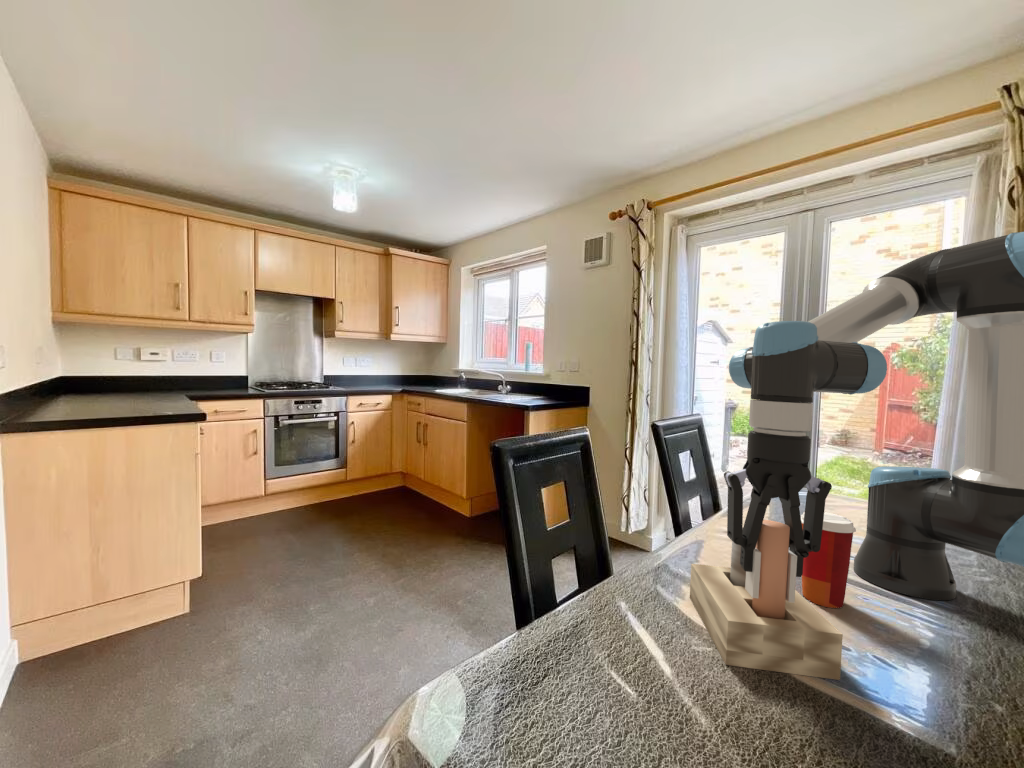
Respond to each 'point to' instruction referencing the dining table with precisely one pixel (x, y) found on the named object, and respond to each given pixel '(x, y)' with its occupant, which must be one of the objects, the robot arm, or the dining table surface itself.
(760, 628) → the bore block
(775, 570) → the dowel
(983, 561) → the dining table surface
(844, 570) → the coffee cup
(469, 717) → the dining table surface
